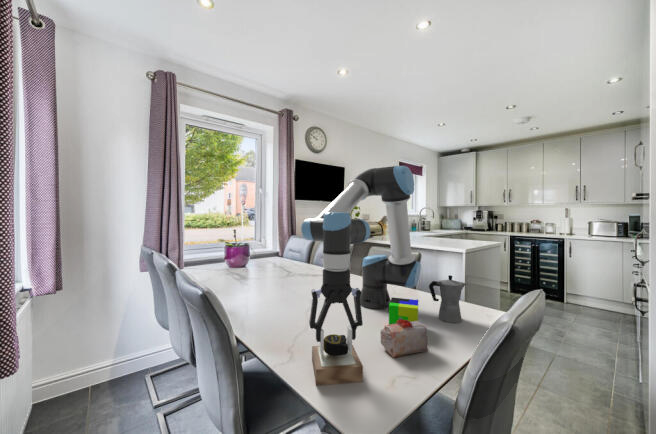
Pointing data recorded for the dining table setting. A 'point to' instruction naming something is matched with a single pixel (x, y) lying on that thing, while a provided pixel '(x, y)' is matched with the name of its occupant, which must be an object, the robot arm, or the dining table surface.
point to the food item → (404, 338)
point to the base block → (336, 367)
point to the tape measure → (335, 345)
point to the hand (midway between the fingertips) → (335, 351)
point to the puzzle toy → (403, 310)
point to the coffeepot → (448, 299)
